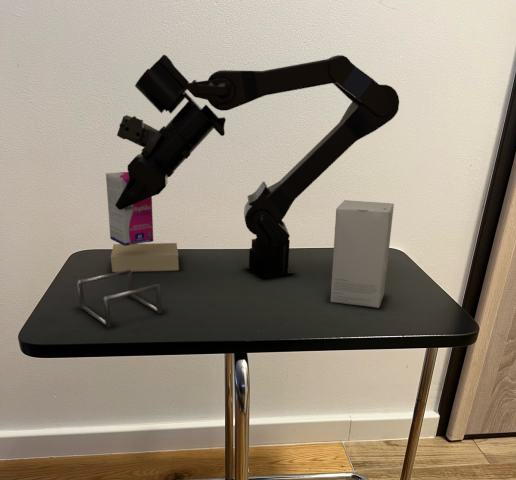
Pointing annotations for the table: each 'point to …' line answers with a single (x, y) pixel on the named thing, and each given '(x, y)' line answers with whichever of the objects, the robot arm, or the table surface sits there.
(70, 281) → the table surface
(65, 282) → the table surface
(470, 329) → the table surface
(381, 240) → the cosmetic box
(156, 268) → the ledge
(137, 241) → the supplement box
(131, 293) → the rack
